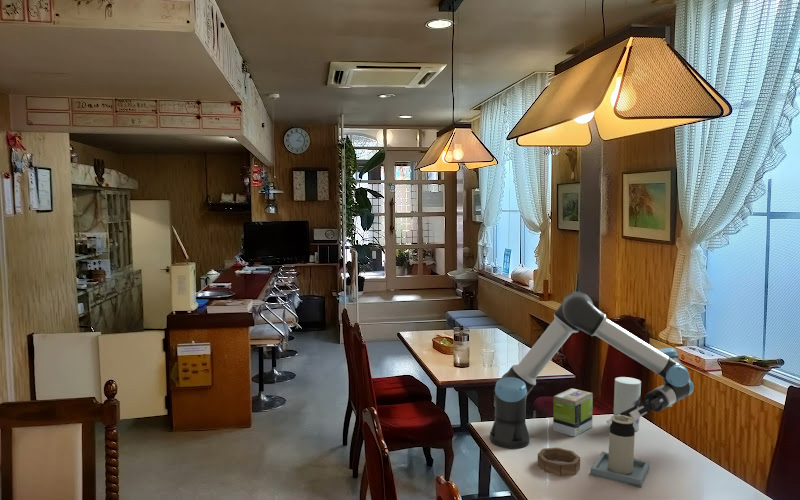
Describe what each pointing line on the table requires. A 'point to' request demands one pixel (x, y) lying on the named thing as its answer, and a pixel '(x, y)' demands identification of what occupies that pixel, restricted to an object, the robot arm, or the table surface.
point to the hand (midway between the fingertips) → (619, 420)
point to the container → (627, 396)
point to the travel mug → (621, 444)
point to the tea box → (572, 412)
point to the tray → (632, 479)
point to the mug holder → (556, 467)
